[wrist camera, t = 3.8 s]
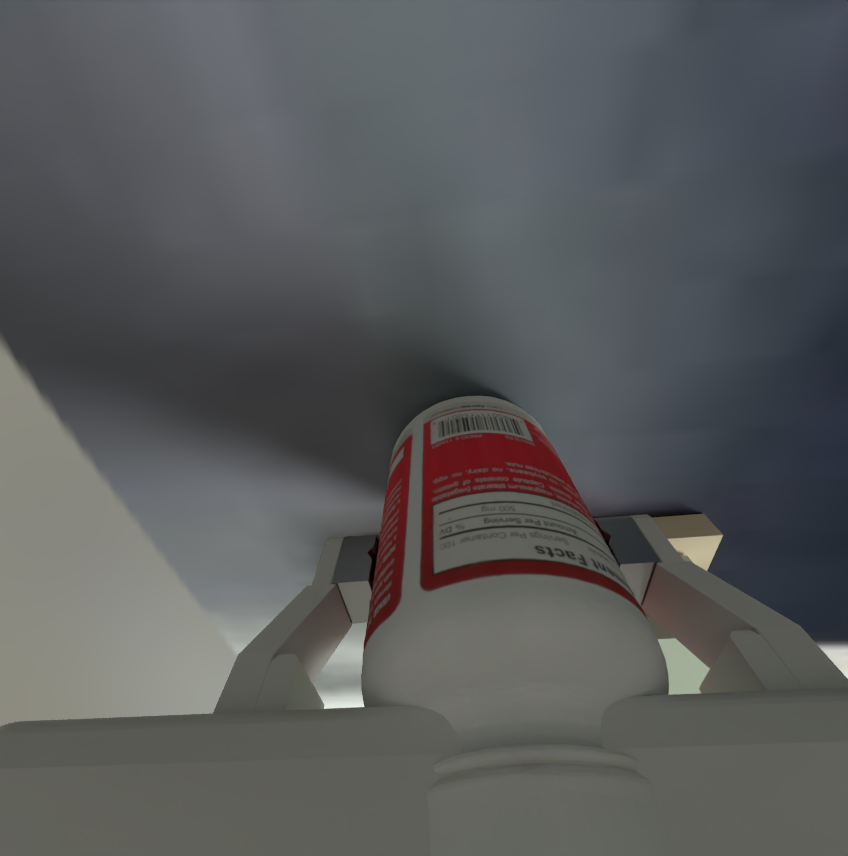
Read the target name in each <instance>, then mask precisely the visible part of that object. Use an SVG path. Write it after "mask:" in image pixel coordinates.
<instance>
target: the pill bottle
mask: <svg viewBox="0 0 848 856" xmlns="http://www.w3.org/2000/svg"><path fill="white" fill-rule="evenodd" d="M361 680H362V695H363V701H364V706H365V707H382V706H416V707H423V708H427V709H431V710H433V711H436V712H438V713H439V714H441V715H443V716H444V717H445V718H446V720H447V721H448V722H449V723H450V724H451V726H452V727H453V728H454V730H455V731H456V733H457V735H458V737H459V740H460V744H461V754H457V755H454V756H450V757H446V758H443V759H440V760H438V761H437V762H435V763H434V764H433V769H434V771H435V772H436V773H438V774H439V775H440V777H439V780H438V781H437V782H436V783H435V784H434V785H433V786H431V787H430V788H429V789H428V792H427V799H428V808H429V825H430V856H676V853H675V850H674V847H673V844H672V841H671V839H670V836H669V833H668V830H667V828H666V825H665V822H664V820H663V817H662V815H661V812H660V809H659V806H658V803H657V800H656V796H655V792H654V788H653V785H652V783H651V781H650V780H648V779H647V778H645V777H644V776H642V775H641V774H639V773H638V772H637V771H636V767H637V765H638V763H639V761H638V760H637V759H636V758H634V757H633V756H631V755H628V754H626V753H621V752H616V751H611V750H606V749H605V748H604V747H602V742H601V732H600V729H601V722H602V715H603V712H604V710H605V709H606V708H607V707H608V706H609V705H610V704H612V703H614V702H616V701H618V700H621V699H623V698H628V697H633V696H649V695H668V694H669V676H668V670H667V665H666V660H665V657H664V654H663V652H662V649H661V646H660V644H659V642H658V639H657V638H656V636H655V634H654V632H653V630H652V627H651V625H650V622H649V621H648V619H647V617H646V614H645V612H644V611H643V609H642V607H641V606H640V605H639V602H638V601H637V599H636V597H635V595H634V593H633V592H632V590H631V588H630V586H629V585H628V583H627V581H626V579H625V577H624V575H623V573H622V571H621V570H620V568H619V566H618V564H617V562H616V561H615V559H614V557H613V555H612V553H611V551H610V549H609V548H608V546H607V544H606V542H605V540H604V539H603V537H602V535H601V533H600V531H599V529H598V528H597V526H596V524H595V522H594V520H593V518H592V517H591V515H590V513H589V511H588V509H587V508H586V506H585V504H584V502H583V500H582V498H581V497H580V495H579V493H578V491H577V490H576V488H575V486H574V484H573V482H572V480H571V478H570V477H569V475H568V473H567V471H566V469H565V467H564V466H563V464H562V462H561V460H560V458H559V457H558V455H557V453H556V451H555V449H554V448H553V446H552V444H551V442H550V441H549V439H548V437H547V436H546V434H545V432H544V431H543V429H542V427H541V426H540V425H539V423H538V422H537V421H536V420H535V419H534V418H533V417H532V416H531V415H530V414H528V413H527V412H526V411H525V410H523V409H522V408H520V407H518V406H516V405H515V404H512V403H510V402H508V401H505V400H502V399H498V398H495V397H490V396H464V397H458V398H452V399H449V400H445V401H442V402H440V403H437V404H435V405H433V406H431V407H429V408H428V409H426V410H425V411H423V412H421V413H420V414H419V415H417V416H416V417H415V418H414V419H413V420H412V421H411V422H410V423H409V424H408V425H407V426H406V427H405V429H404V430H403V431H402V433H401V435H400V436H399V438H398V440H397V442H396V444H395V446H394V449H393V453H392V457H391V462H390V467H389V474H388V482H387V490H386V496H385V504H384V511H383V519H382V525H381V532H380V539H379V546H378V554H377V560H376V568H375V574H374V581H373V588H372V594H371V601H370V605H369V615H368V623H367V629H366V636H365V641H364V652H363V666H362V675H361Z"/></svg>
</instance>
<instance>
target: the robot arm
mask: <svg viewBox="0 0 848 856" xmlns="http://www.w3.org/2000/svg"><path fill="white" fill-rule="evenodd" d="M593 520H594V522H595V524H596V526H597V528H598V529H599V531H600V533H601V535H602V537H603V539H604V540H605V542H606V544H607V546H608V548H609V549H610V551H611V553H612V555H613V557H614V559H615V561H616V562H617V564H618V566H619V568H620V570H621V571H622V573H623V575H624V577H625V579H626V581H627V583H628V585H629V586H630V588H631V590H632V592H633V593H634V595H635V597H636V599H637V601H638V602H639V605H640V606H641V607H642V609H643V610H644V611H645V612H646V613H647V614H648V615H650V616H651V617H652V618H653V619H654V620H655V621H656V622H658V623H659V624H660V625H661V626H662V627H663V628H664V629H665V630H667V631H668V632H669V633H670V634H671V635H672V636H673V637H674V638H676V639H677V640H678V641H679V642H680V643H681V644H682V645H684V646H685V647H686V648H687V649H688V650H689V651H690V652H691V653H693V654H694V655H695V656H696V657H697V658H698V659H699V660H701V661H702V662H703V663H704V664H705V665H706V666H707V667H708V668H710V669H709V671H708V673H707V674H706V676H705V678H704V679H703V681H702V683H701V685H700V687H699V690H700V692H701V693H698V694H673V695H649V696H633V697H628V698H623V699H621V700H618V701H616V702H614V703H612V704H610V705H609V706H608V707H607V708H606V709H605V710H604V712H603V715H602V722H601V729H600V732H601V742H602V747H604V748H605V749H606V750H611V751H616V752H621V753H626V754H628V755H631V756H633V757H634V758H636V759H637V760H638V761H639V763H638V765H637V767H636V771H637V772H638V773H639V774H641V775H642V776H644V777H645V778H647V779H648V780H650V781H651V783H652V785H653V788H654V792H655V796H656V800H657V803H658V806H659V809H660V812H661V815H662V817H663V820H664V822H665V825H666V828H667V830H668V833H669V836H670V839H671V841H672V844H673V847H674V850H675V853H676V856H848V679H847V678H846V677H845V676H844V674H843V673H842V672H841V671H840V670H839V669H838V668H837V667H836V666H835V664H834V663H833V662H832V661H831V660H830V659H829V658H828V657H827V655H826V654H825V653H824V652H823V651H822V650H821V649H820V648H819V647H818V645H817V644H816V643H815V642H814V641H813V640H812V639H811V638H810V637H809V635H808V634H807V633H806V632H805V631H804V630H803V629H802V628H801V626H799V625H797V624H796V623H794V622H792V621H791V620H789V619H787V618H786V617H784V616H782V615H780V614H779V613H777V612H775V611H774V610H772V609H770V608H769V607H767V606H765V605H764V604H762V603H760V602H758V601H757V600H755V599H753V598H752V597H750V596H748V595H747V594H745V593H743V592H742V591H740V590H738V589H736V588H735V587H733V586H731V585H730V584H728V583H726V582H725V581H723V580H721V579H720V578H718V577H716V576H714V575H713V574H711V573H709V572H708V571H706V570H704V569H703V568H701V567H699V566H698V565H696V564H694V563H692V562H691V561H684V560H683V559H682V558H681V556H680V555H679V554H678V552H677V551H676V550H675V548H674V547H673V546H672V544H671V543H670V542H669V540H668V539H667V538H666V536H665V535H664V534H663V532H662V531H661V530H660V528H659V527H658V525H657V524H656V523H655V521H654V520H653V519H652V517H651V516H649V515H647V514H644V515H631V516H618V517H606V518H594V519H593ZM378 546H379V536H378V535H367V536H346V537H332V538H328V539H327V541H326V542H325V545H324V549H323V552H322V555H321V558H320V561H319V564H318V568H317V571H316V574H315V577H314V580H313V584H312V586H306V587H305V588H304V589H303V590H302V591H301V592H300V593H299V594H298V595H297V596H296V597H295V598H294V599H293V600H292V601H291V602H290V603H289V604H288V605H287V606H286V607H285V609H284V610H283V611H282V612H281V613H280V614H279V615H278V616H277V617H276V618H275V619H274V620H273V621H272V622H271V623H270V624H269V625H268V626H267V627H266V628H265V629H264V630H263V631H262V632H261V633H260V634H259V635H258V636H257V637H256V638H255V639H254V640H253V641H252V642H251V643H250V644H249V645H248V646H247V647H246V648H245V649H244V650H243V651H242V652H241V653H240V654H239V655H238V656H237V659H236V661H235V663H234V666H233V668H232V670H231V673H230V675H229V677H228V680H227V682H226V684H225V687H224V689H223V691H222V694H221V696H220V698H219V701H218V703H217V705H216V708H215V710H214V712H213V714H191V715H167V716H142V717H118V718H93V719H68V720H42V721H20V722H14V723H9V724H6V725H3V726H1V727H0V856H430V825H429V808H428V799H427V792H428V789H429V788H430V787H431V786H433V785H434V784H435V783H436V782H437V781H438V780H439V777H440V775H439V774H438V773H436V772H435V771H434V769H433V764H434V763H435V762H437V761H438V760H440V759H443V758H446V757H450V756H454V755H457V754H461V744H460V740H459V737H458V735H457V733H456V731H455V730H454V728H453V727H452V726H451V724H450V723H449V722H448V721H447V720H446V718H445V717H444V716H443V715H441V714H439V713H438V712H436V711H433V710H431V709H427V708H423V707H416V706H382V707H358V708H334V709H324V703H323V702H322V700H321V698H320V696H319V695H318V693H317V691H316V689H315V687H314V686H313V684H312V683H313V682H314V680H315V679H316V677H317V676H318V674H319V673H320V671H321V670H322V668H323V667H324V665H325V664H326V663H327V661H328V660H329V658H330V657H331V655H332V654H333V652H334V651H335V649H336V648H337V646H338V645H339V643H340V642H341V641H342V639H343V638H344V636H345V635H346V633H347V632H348V630H349V629H350V627H351V626H352V623H364V622H368V615H369V605H370V601H371V594H372V588H373V581H374V574H375V568H376V560H377V554H378Z"/></svg>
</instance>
